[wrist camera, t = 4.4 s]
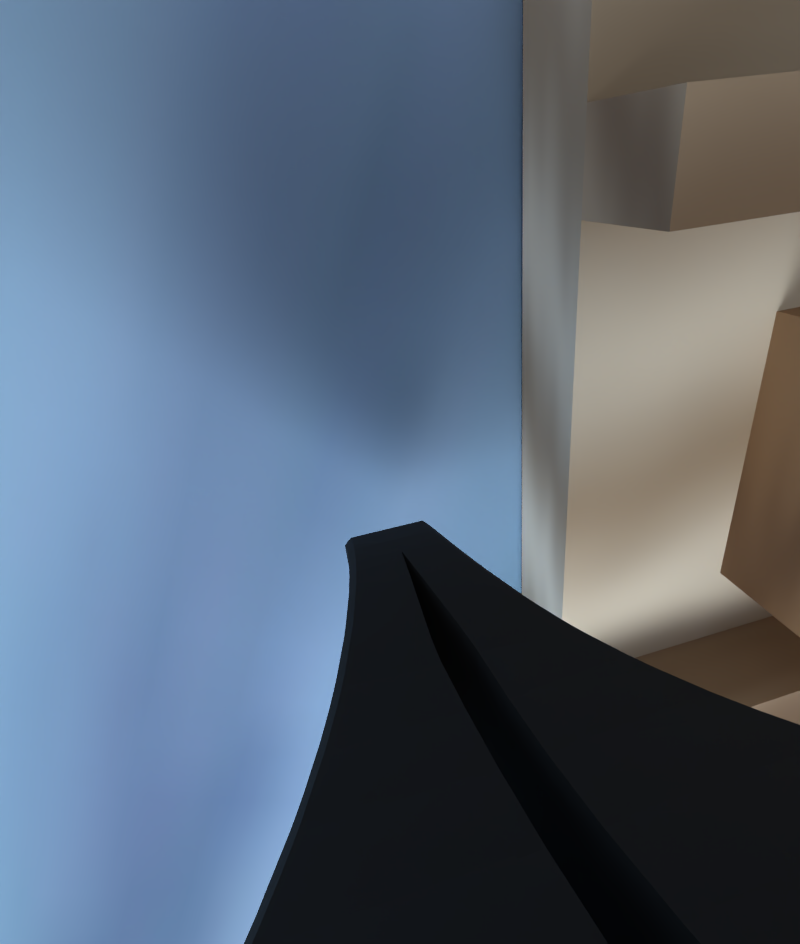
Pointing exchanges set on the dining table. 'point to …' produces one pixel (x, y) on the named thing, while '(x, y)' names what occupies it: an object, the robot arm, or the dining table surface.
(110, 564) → the dining table surface
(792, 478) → the walnut block
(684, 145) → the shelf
